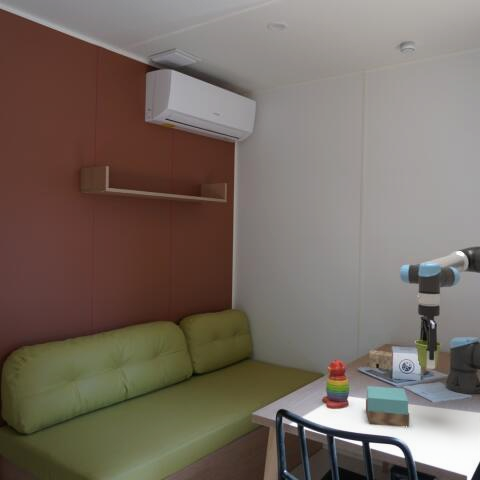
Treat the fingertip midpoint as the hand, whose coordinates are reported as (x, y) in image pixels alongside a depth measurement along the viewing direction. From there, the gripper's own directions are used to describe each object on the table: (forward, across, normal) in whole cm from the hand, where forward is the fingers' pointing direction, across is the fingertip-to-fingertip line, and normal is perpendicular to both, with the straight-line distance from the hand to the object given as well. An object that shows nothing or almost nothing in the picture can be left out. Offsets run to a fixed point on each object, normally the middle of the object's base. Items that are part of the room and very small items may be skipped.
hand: (427, 365), depth 184 cm
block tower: (+22, -70, +2) cm, 74 cm away
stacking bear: (+22, -14, -32) cm, 41 cm away
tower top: (+17, -2, -14) cm, 22 cm away
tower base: (+22, -2, -14) cm, 26 cm away
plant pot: (+1, 0, 0) cm, 1 cm away
